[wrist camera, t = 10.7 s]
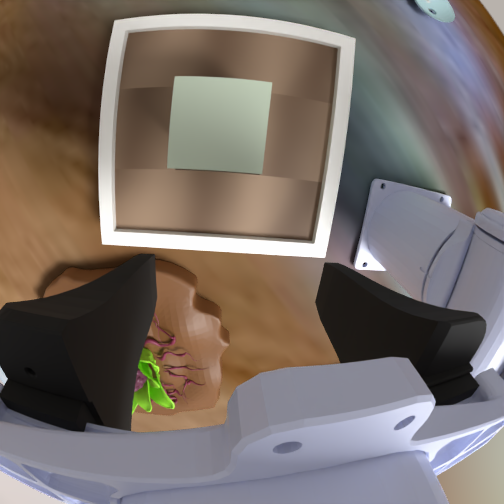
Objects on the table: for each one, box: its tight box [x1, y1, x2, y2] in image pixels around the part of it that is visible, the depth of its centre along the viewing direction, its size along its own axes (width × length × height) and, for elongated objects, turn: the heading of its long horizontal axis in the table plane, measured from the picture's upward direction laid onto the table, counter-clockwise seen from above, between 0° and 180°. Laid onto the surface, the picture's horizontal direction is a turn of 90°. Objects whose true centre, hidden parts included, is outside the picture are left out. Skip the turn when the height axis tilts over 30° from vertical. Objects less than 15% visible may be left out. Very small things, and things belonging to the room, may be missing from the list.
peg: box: [167, 76, 272, 174], centre depth 14 cm, size 4×4×8 cm
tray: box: [98, 14, 355, 258], centre depth 17 cm, size 16×16×3 cm
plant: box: [43, 260, 230, 415], centre depth 21 cm, size 20×20×11 cm
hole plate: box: [115, 29, 338, 241], centre depth 17 cm, size 14×14×2 cm
